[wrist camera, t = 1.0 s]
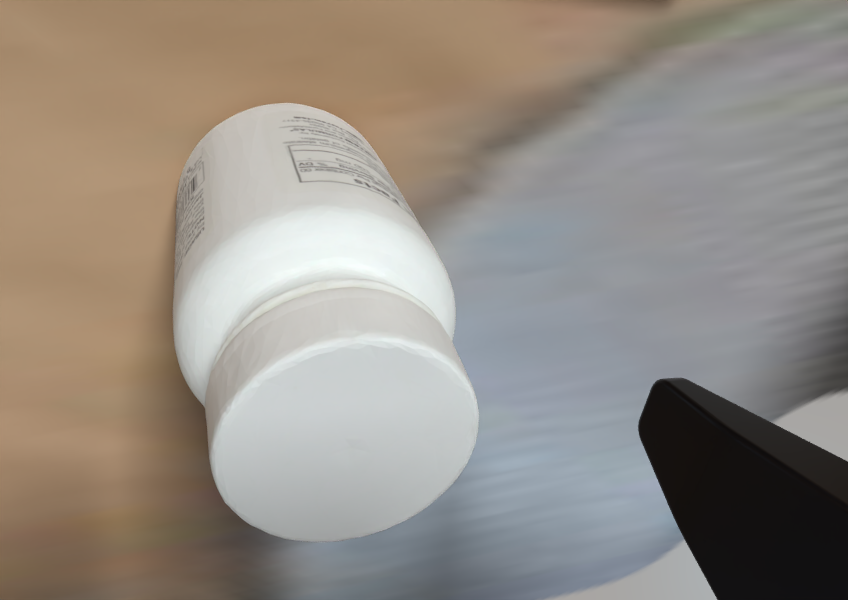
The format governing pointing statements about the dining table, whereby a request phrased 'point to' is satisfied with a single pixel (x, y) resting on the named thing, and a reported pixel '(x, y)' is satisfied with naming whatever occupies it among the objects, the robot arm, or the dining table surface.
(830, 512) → the robot arm
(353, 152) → the pill bottle
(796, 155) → the dining table surface
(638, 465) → the dining table surface
